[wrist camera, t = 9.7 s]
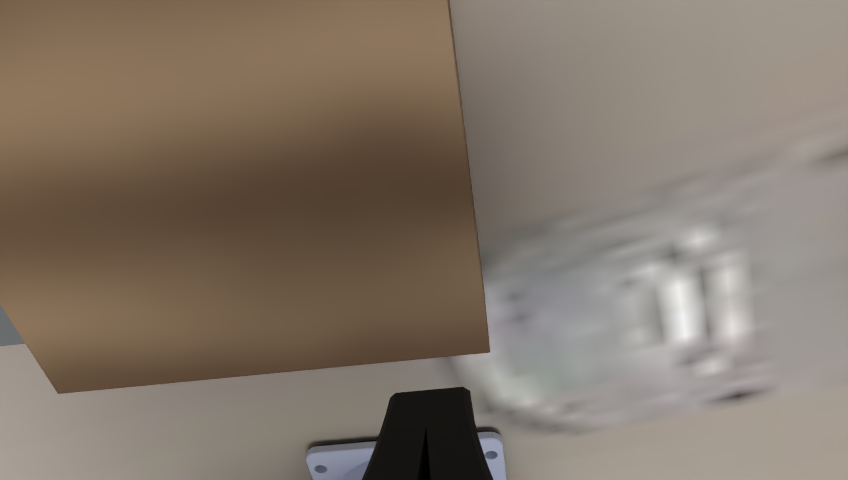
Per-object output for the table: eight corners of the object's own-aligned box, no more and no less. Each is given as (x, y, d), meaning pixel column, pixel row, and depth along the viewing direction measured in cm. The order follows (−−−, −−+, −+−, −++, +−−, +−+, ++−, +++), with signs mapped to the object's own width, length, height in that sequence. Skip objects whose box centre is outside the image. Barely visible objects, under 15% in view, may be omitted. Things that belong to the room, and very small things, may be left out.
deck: (484, 290, 23) (489, 352, 21) (95, 330, 24) (58, 393, 22) (438, -93, 16) (438, -69, 14) (-95, -10, 18) (-180, 26, 15)
